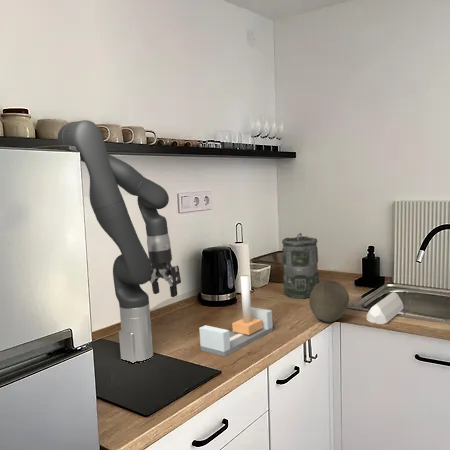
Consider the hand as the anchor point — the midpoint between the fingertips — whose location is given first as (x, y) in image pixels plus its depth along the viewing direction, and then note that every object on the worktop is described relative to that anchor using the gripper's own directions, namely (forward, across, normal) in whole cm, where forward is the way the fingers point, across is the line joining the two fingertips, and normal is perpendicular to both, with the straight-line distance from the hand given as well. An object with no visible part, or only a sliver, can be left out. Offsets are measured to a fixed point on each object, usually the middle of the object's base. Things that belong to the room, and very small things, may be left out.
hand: (165, 294), depth 155 cm
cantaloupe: (+21, +35, +47) cm, 62 cm away
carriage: (+17, +18, +20) cm, 31 cm away
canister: (+23, +7, +75) cm, 79 cm away
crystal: (+22, +50, +63) cm, 84 cm away
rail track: (+18, +18, +14) cm, 29 cm away
